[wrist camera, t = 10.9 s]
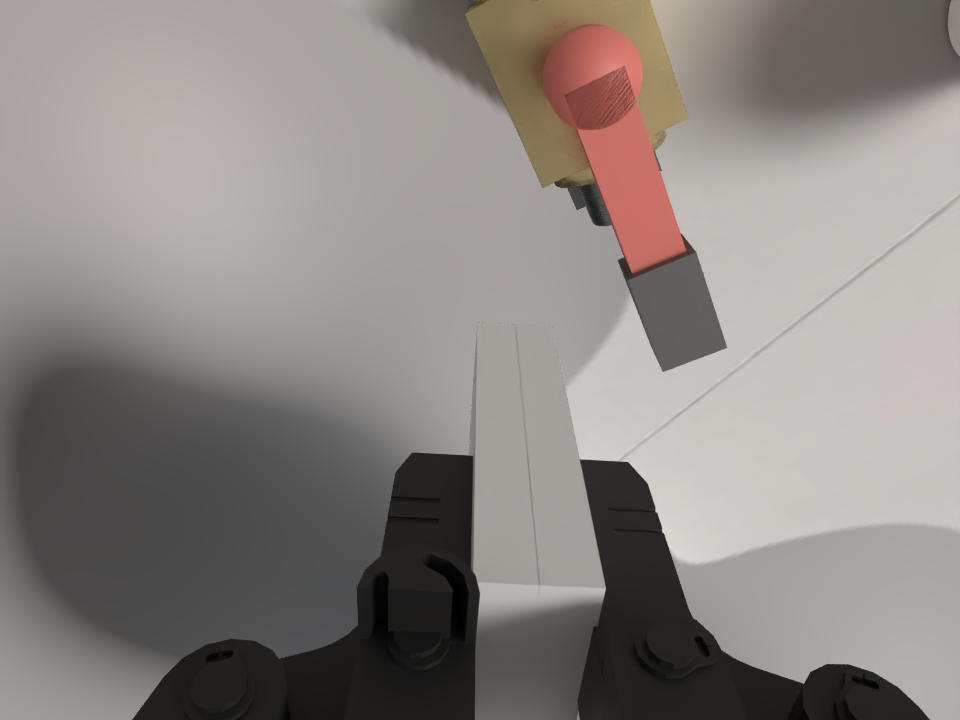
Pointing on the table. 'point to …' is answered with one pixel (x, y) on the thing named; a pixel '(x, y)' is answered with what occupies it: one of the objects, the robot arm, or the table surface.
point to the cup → (954, 25)
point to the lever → (633, 189)
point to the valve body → (519, 78)
